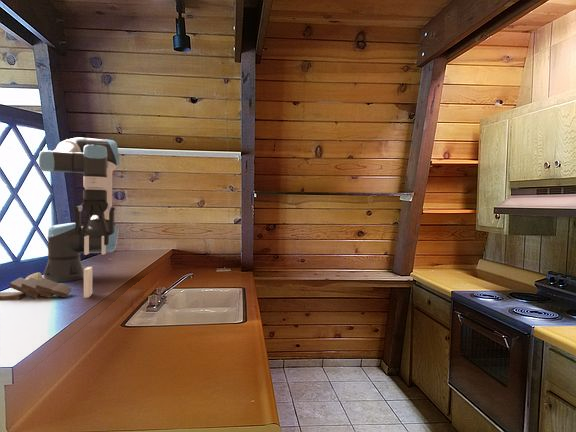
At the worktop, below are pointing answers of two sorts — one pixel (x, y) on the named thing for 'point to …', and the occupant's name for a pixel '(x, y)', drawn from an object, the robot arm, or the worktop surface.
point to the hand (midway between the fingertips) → (95, 254)
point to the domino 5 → (87, 282)
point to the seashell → (35, 276)
